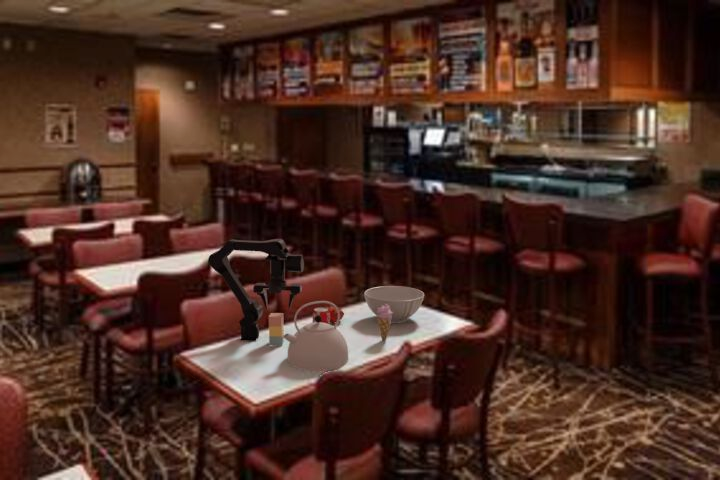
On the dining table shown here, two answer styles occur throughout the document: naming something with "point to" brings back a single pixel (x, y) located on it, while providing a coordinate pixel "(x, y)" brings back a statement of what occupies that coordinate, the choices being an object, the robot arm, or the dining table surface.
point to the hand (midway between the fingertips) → (278, 308)
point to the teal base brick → (276, 340)
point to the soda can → (322, 315)
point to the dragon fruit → (334, 314)
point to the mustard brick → (276, 331)
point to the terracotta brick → (276, 319)
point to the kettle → (317, 344)
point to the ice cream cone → (384, 320)
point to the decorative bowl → (395, 301)
